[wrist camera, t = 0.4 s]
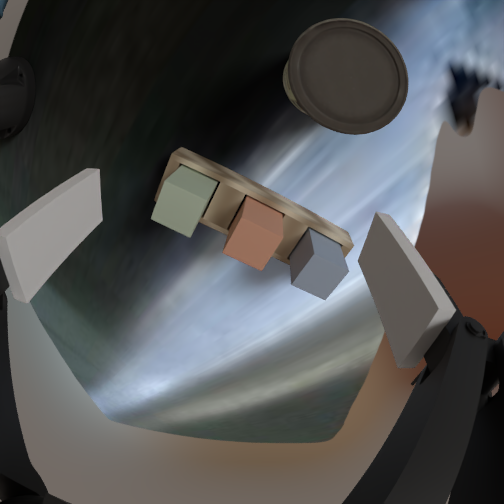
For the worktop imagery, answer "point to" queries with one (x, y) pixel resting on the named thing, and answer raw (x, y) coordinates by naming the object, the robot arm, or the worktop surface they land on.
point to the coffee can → (346, 76)
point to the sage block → (183, 199)
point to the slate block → (317, 264)
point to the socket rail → (238, 186)
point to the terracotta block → (254, 233)
